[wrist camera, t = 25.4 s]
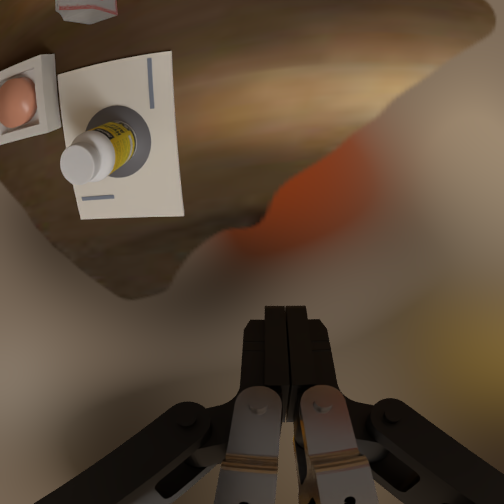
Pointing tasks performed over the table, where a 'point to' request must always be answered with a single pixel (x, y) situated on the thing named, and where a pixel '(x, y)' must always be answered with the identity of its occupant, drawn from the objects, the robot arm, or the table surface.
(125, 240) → the table surface
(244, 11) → the table surface
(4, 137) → the white square tray
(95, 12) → the white carton
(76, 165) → the supplement bottle
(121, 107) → the white flat board
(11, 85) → the button
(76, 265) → the table surface
